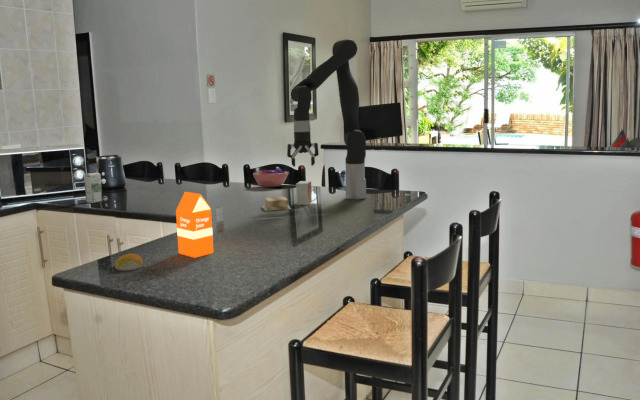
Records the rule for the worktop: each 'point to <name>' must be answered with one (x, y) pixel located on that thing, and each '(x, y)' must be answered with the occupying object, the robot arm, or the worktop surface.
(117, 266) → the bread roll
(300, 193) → the small box
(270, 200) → the oak block
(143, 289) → the worktop surface
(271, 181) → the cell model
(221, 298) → the worktop surface
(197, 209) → the orange juice
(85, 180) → the syrup box
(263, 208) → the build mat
